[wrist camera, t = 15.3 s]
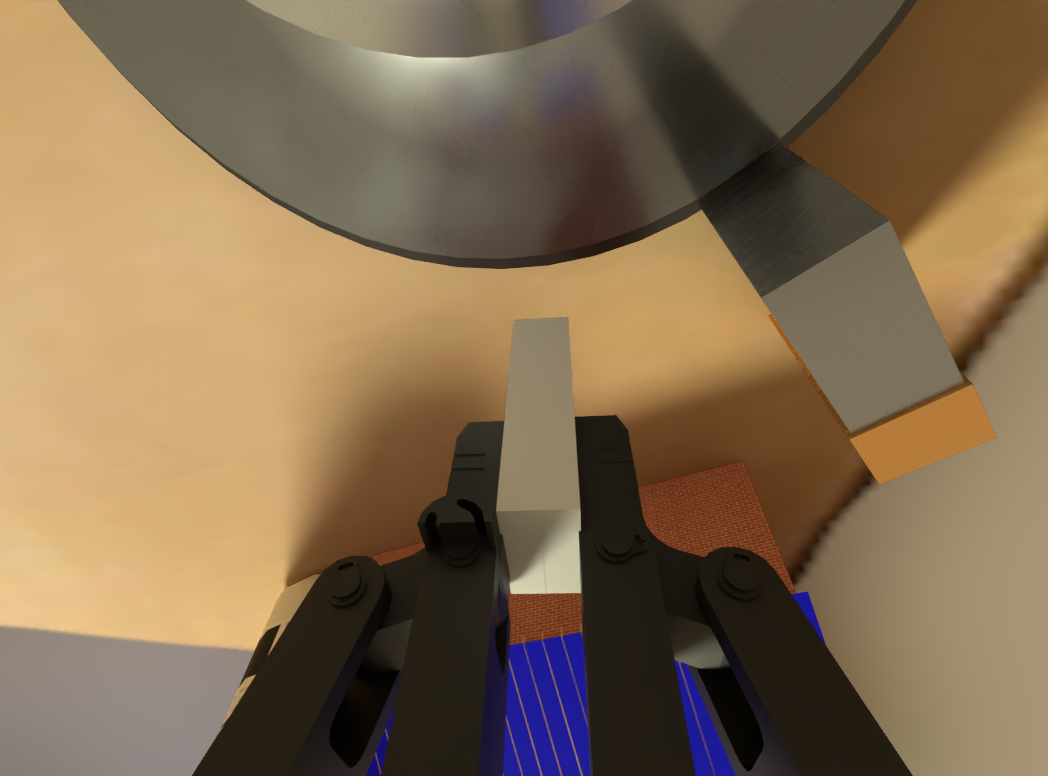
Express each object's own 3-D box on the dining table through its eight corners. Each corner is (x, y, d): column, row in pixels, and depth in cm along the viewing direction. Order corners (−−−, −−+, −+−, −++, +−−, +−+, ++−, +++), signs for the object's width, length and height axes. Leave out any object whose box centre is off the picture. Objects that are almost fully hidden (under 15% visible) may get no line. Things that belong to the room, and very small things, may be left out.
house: (366, 549, 28) (277, 823, 19) (748, 450, 23) (883, 771, 13) (469, 650, 35) (440, 890, 26) (785, 593, 29) (893, 873, 20)
